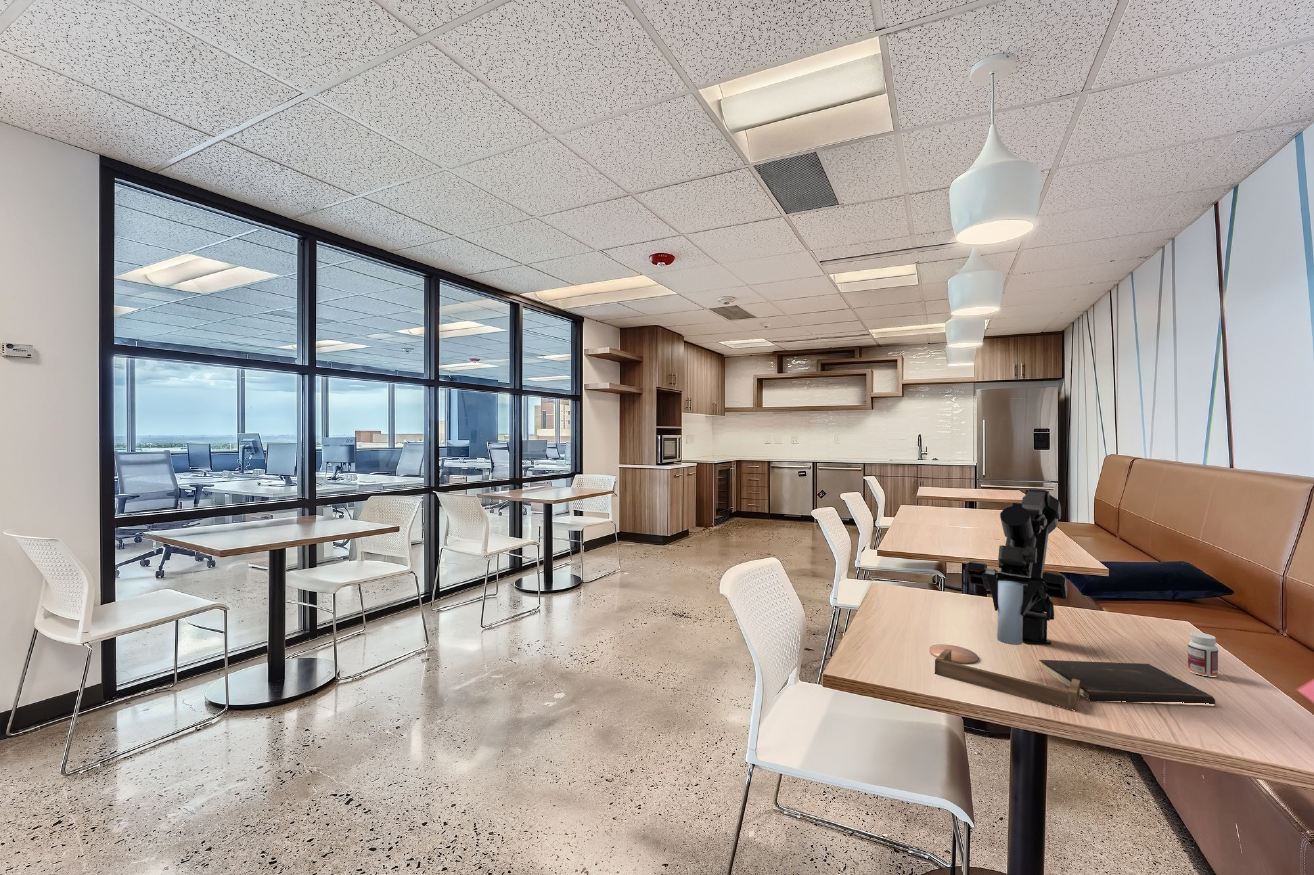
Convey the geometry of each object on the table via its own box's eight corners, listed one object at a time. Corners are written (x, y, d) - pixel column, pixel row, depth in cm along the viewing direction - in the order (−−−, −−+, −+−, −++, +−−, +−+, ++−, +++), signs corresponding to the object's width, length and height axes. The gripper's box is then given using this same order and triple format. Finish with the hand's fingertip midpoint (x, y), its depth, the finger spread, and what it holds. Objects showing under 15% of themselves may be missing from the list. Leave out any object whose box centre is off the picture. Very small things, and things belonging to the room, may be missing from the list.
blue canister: (999, 635, 125) (1000, 579, 125) (1024, 640, 122) (1024, 583, 122) (995, 641, 122) (996, 583, 122) (1020, 646, 119) (1021, 587, 119)
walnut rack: (945, 661, 127) (945, 648, 127) (1079, 695, 111) (1079, 680, 111) (934, 673, 121) (934, 659, 121) (1075, 711, 105) (1075, 695, 105)
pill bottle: (1209, 670, 124) (1210, 633, 124) (1223, 679, 120) (1223, 640, 120) (1182, 667, 126) (1183, 630, 126) (1194, 676, 121) (1195, 637, 121)
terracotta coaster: (963, 647, 136) (963, 644, 136) (986, 663, 126) (986, 661, 126) (921, 646, 137) (921, 643, 137) (942, 663, 127) (942, 660, 127)
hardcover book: (1039, 669, 125) (1039, 659, 125) (1148, 674, 123) (1148, 663, 123) (1089, 704, 109) (1089, 692, 109) (1215, 709, 108) (1215, 697, 107)
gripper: (967, 526, 131) (954, 583, 123) (1066, 536, 118) (1059, 600, 110) (975, 554, 137) (963, 610, 129) (1069, 567, 124) (1063, 630, 116)
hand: (1008, 612), depth 121 cm, fingers closed on blue canister, 5 cm apart
